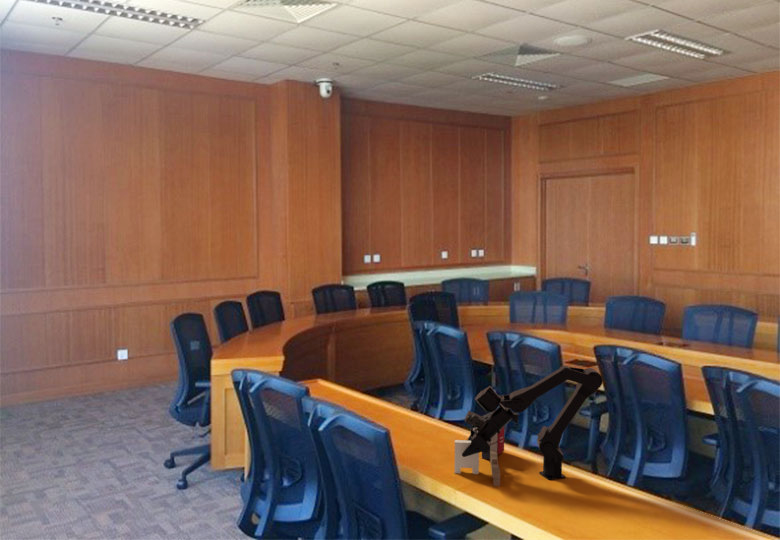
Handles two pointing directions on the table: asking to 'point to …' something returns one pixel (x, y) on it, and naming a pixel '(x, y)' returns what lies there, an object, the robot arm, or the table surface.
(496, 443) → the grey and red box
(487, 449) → the robot arm
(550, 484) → the table surface
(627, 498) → the table surface
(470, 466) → the notched plate
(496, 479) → the slotted beam
